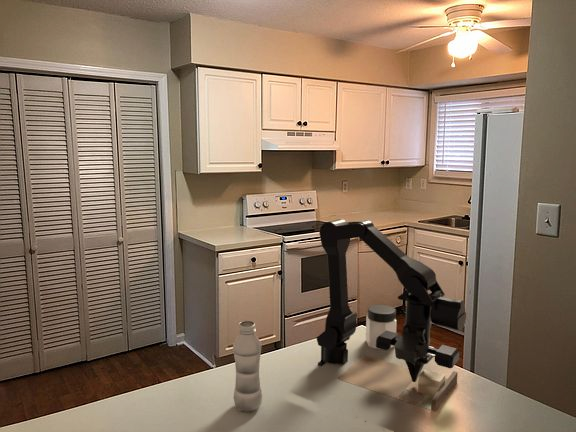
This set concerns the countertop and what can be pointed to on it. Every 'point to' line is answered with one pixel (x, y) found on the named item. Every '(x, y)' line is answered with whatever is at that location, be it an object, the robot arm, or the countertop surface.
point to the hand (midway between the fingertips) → (414, 381)
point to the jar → (379, 322)
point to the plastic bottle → (247, 368)
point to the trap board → (393, 381)
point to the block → (430, 382)
